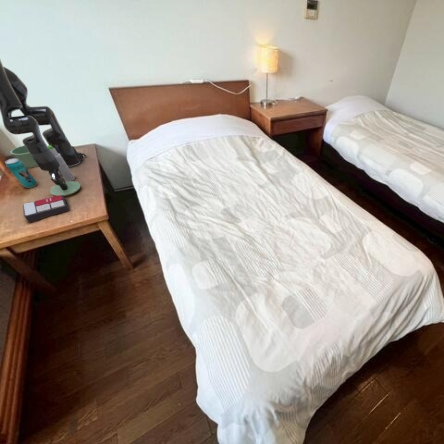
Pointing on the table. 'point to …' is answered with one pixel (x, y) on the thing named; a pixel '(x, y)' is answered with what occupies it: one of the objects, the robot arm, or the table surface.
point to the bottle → (62, 165)
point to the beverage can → (21, 172)
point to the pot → (24, 156)
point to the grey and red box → (44, 208)
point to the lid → (71, 188)
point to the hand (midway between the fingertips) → (65, 187)
